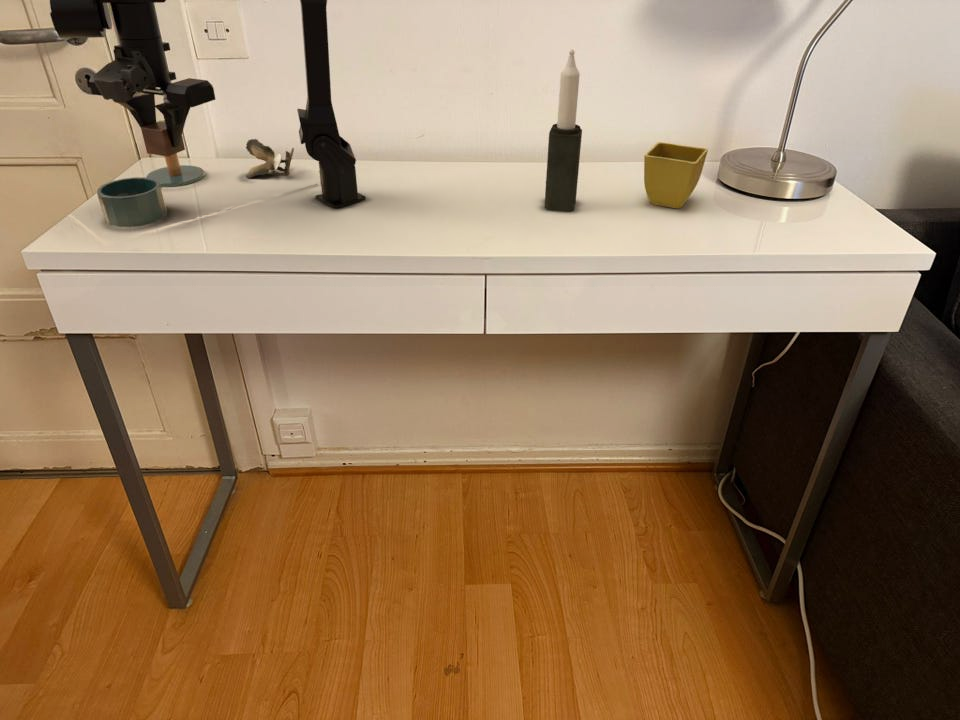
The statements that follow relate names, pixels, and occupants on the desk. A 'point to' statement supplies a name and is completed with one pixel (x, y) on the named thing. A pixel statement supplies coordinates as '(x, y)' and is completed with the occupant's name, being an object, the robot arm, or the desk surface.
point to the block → (159, 140)
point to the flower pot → (672, 173)
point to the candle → (564, 145)
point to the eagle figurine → (266, 159)
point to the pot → (132, 201)
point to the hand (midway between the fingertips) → (164, 145)
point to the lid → (176, 173)
